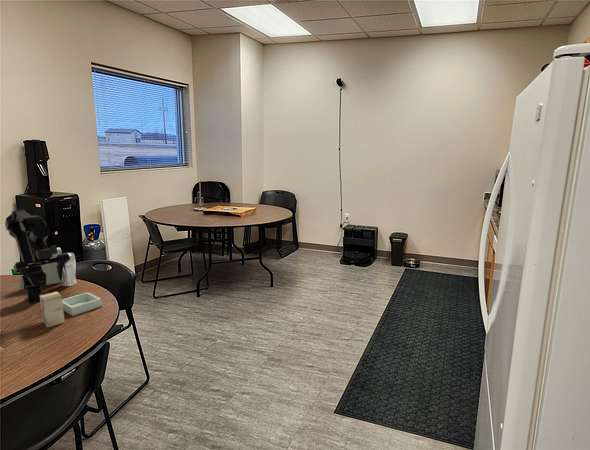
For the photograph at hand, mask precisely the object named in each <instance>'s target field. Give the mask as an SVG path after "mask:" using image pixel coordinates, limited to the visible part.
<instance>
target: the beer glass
mask: <svg viewBox="0 0 590 450" xmlns="http://www.w3.org/2000/svg"><path fill="white" fill-rule="evenodd" d="M66 253H67V254H69V256H70V260H69V261H68V262H67V263H66V264H65V265H64V267H63V272H62V276H63V282H62V286H63V287H73V286H75V285H77V283H78V282H77V277H76V269H77V268H76V267H77V265H76V263H77V262H76V257H75V253H74V252H66ZM62 254H65V252H64V253H62Z"/></svg>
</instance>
